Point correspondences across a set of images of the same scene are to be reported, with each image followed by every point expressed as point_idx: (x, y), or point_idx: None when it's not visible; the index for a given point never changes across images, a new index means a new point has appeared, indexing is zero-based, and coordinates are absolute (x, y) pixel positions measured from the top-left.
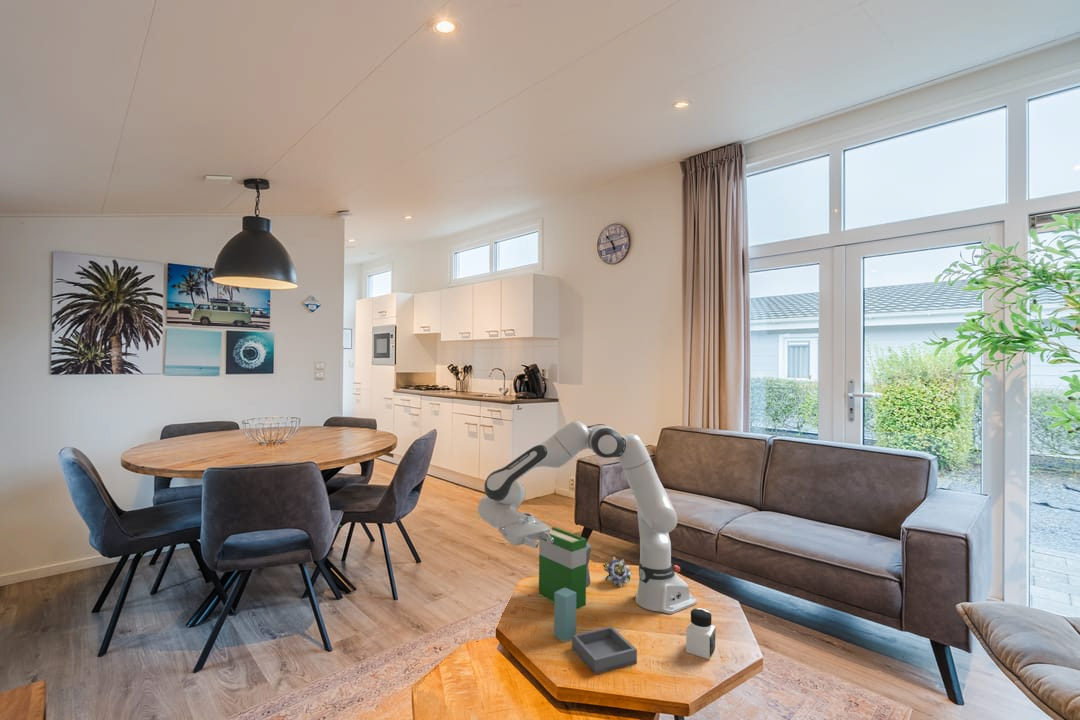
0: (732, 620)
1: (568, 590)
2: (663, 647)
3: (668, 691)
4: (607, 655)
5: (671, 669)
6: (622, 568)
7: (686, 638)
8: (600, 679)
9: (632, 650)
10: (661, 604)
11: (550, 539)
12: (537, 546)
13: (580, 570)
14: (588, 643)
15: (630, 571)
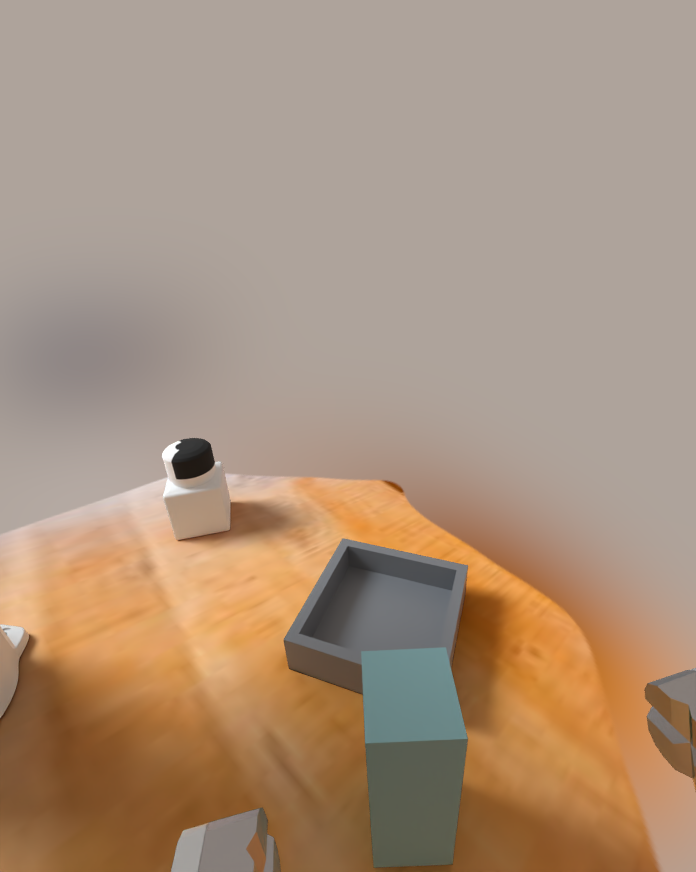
0: (24, 534)
1: (378, 695)
2: (238, 563)
3: (375, 499)
4: (424, 560)
5: (310, 521)
6: None
7: (223, 505)
8: None
9: (354, 541)
10: (5, 643)
11: (259, 845)
12: (658, 714)
13: None
14: None
15: None
